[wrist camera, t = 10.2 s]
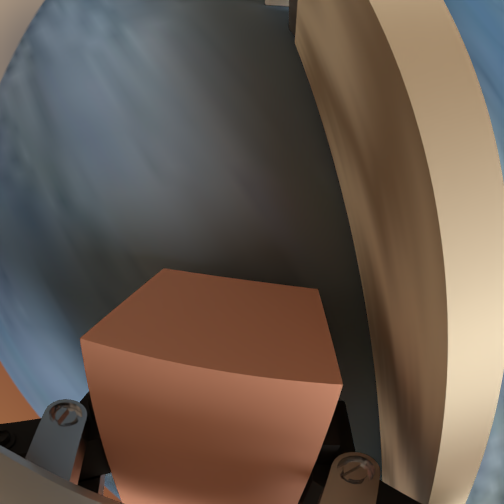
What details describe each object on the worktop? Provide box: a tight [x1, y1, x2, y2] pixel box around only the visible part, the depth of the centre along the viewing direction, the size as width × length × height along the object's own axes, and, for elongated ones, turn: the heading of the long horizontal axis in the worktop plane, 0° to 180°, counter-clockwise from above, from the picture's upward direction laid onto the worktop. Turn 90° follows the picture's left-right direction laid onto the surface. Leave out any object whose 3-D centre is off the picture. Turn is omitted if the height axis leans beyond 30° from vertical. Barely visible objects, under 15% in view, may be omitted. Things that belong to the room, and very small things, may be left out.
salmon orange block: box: [80, 268, 343, 504], centre depth 9 cm, size 8×5×5 cm, turn 174°
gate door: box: [289, 0, 504, 504], centre depth 8 cm, size 24×1×7 cm, turn 16°
